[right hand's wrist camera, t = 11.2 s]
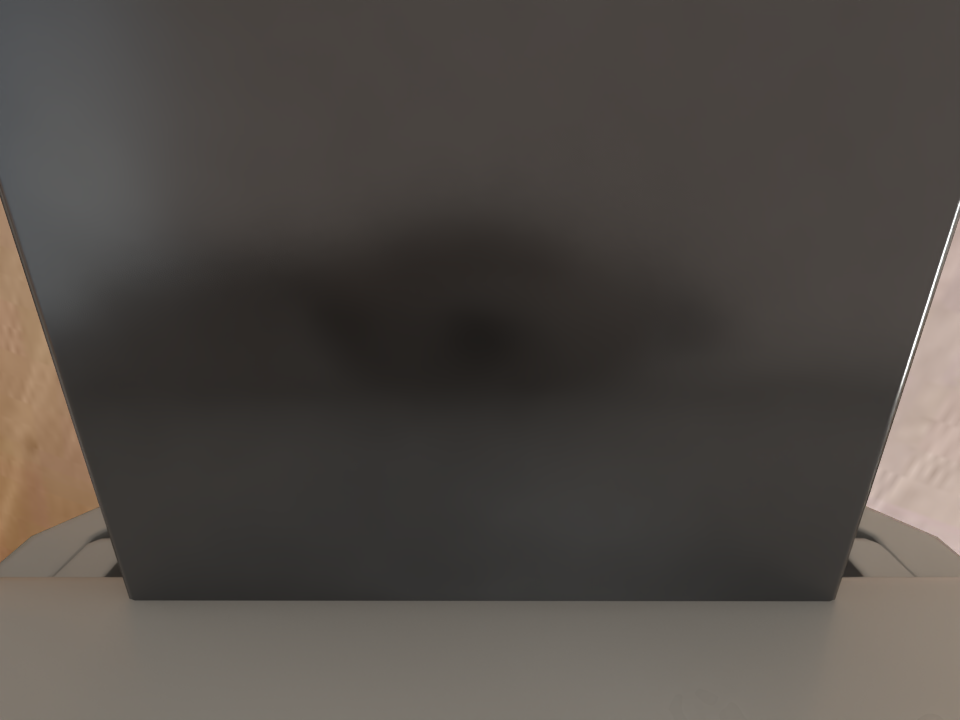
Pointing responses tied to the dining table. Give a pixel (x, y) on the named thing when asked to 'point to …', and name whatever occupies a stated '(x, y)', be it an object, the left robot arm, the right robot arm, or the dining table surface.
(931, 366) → the dining table surface
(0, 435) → the dining table surface
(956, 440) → the dining table surface
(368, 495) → the box
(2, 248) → the dining table surface
